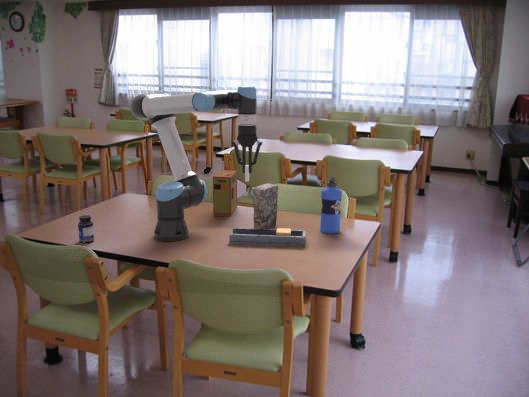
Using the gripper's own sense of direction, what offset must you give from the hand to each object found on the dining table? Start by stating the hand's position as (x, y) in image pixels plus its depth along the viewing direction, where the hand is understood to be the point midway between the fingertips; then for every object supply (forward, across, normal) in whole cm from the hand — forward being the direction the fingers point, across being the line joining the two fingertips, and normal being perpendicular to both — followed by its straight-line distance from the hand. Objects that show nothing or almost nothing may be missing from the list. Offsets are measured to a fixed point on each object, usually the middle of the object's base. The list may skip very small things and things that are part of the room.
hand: (247, 180), depth 225 cm
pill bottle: (+27, -68, -9) cm, 74 cm away
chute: (+26, +9, 0) cm, 28 cm away
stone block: (+27, +6, +20) cm, 34 cm away
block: (+25, +16, 0) cm, 30 cm away
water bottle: (+27, +36, +18) cm, 48 cm away
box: (+27, -17, +45) cm, 55 cm away
